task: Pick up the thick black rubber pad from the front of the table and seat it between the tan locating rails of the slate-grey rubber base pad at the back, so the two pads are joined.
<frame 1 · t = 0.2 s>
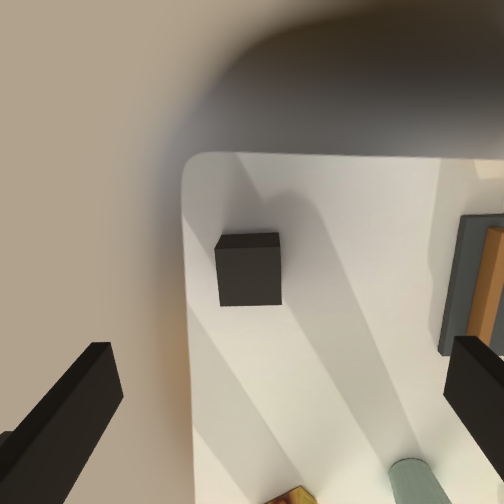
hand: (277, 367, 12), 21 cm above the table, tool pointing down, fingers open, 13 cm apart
candy box: (285, 503, 46), on the table
cup: (408, 471, 43), on the table
black pad: (251, 260, 33), on the table
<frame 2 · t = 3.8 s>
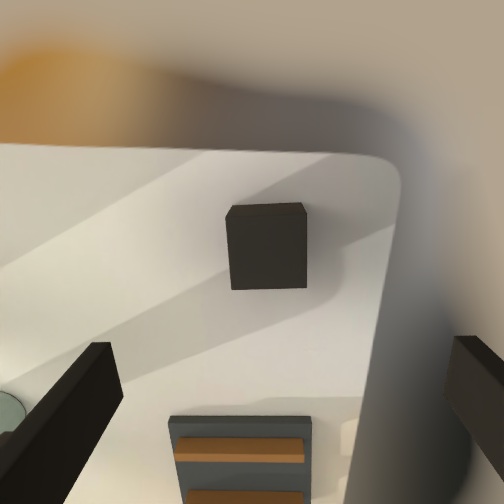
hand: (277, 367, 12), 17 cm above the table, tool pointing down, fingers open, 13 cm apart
base pad: (243, 460, 37), on the table
cup: (4, 407, 37), on the table
black pad: (267, 236, 28), on the table
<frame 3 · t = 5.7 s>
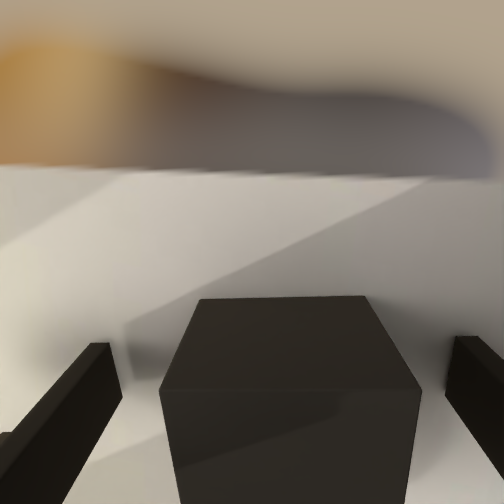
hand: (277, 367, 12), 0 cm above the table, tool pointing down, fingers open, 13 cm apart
black pad: (282, 364, 12), on the table
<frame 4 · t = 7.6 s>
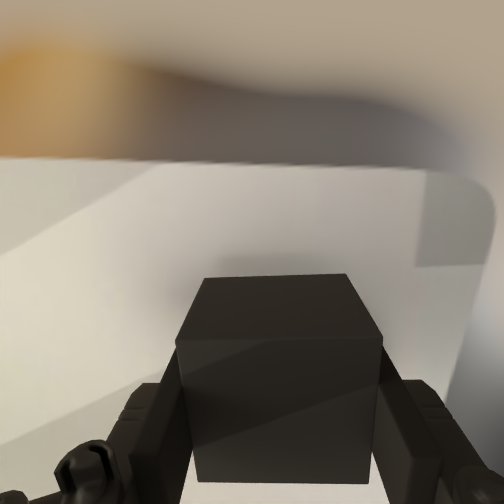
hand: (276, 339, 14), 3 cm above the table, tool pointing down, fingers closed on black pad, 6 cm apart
black pad: (276, 335, 14), point 3 cm above the table, touching gripper
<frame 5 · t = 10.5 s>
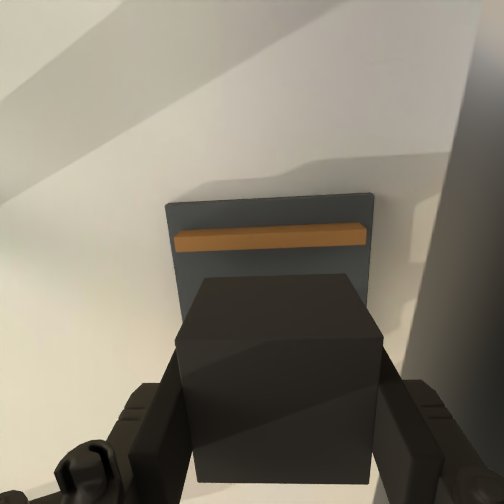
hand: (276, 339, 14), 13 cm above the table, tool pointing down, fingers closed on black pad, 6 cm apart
base pad: (270, 278, 27), on the table
black pad: (276, 335, 14), point 13 cm above the table, touching gripper
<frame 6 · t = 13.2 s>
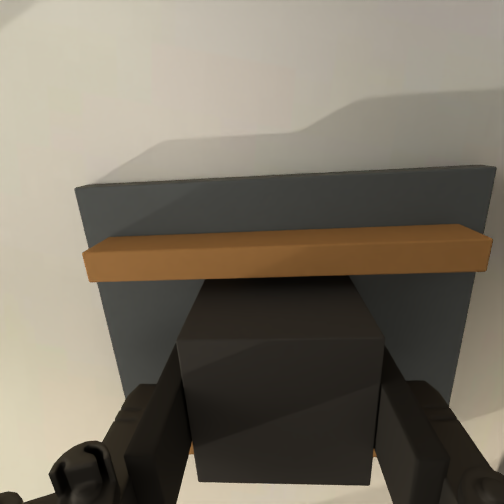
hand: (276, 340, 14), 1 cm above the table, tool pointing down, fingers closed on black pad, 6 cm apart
base pad: (279, 323, 15), on the table
black pad: (277, 335, 14), point 1 cm above the table, touching base pad, gripper
when the fingers open (1 cm above the table, at t = 13.5 s): black pad stays where it is, resting on base pad.
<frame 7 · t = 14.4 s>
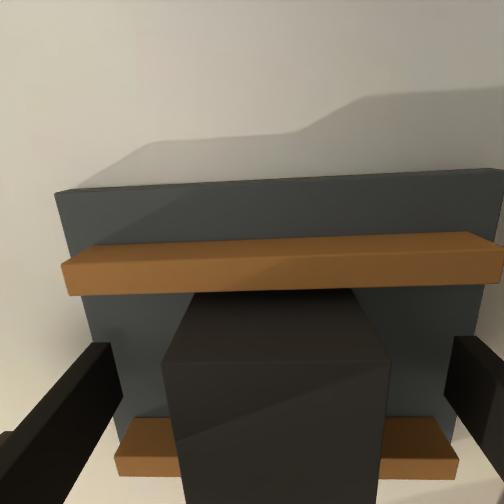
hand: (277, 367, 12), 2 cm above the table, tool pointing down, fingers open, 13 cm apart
base pad: (275, 335, 14), on the table
black pad: (273, 349, 13), point 1 cm above the table, touching base pad
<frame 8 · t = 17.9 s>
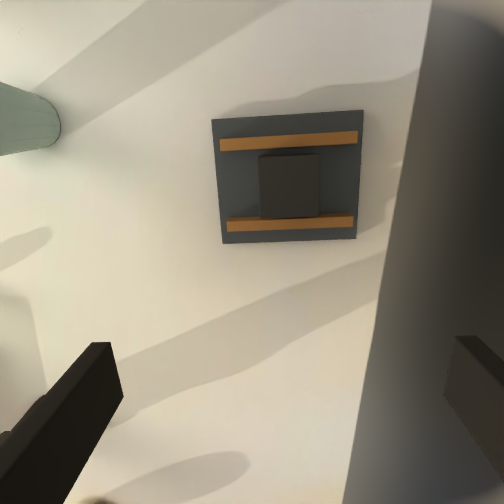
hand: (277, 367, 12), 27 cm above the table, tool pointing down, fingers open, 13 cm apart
base pad: (287, 181, 36), on the table
cup: (38, 121, 35), on the table
black pad: (286, 182, 35), point 1 cm above the table, touching base pad
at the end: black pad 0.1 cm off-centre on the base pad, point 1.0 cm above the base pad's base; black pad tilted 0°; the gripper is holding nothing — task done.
